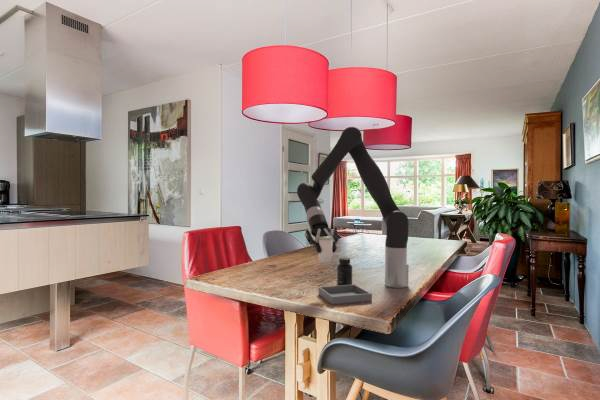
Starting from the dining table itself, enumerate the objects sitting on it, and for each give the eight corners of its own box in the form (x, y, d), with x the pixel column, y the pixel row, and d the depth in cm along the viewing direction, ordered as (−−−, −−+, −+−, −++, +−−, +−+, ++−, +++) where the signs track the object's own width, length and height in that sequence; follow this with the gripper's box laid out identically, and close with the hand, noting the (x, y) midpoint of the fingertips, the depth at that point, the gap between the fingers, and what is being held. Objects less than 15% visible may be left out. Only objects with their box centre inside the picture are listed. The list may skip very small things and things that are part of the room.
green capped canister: (329, 259, 141) (329, 235, 141) (335, 262, 136) (334, 237, 135) (316, 260, 140) (316, 236, 139) (321, 263, 134) (321, 238, 134)
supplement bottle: (342, 282, 157) (342, 256, 157) (355, 285, 152) (355, 258, 152) (333, 285, 152) (334, 258, 151) (347, 288, 147) (347, 260, 147)
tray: (354, 291, 142) (354, 284, 142) (371, 301, 129) (371, 293, 129) (318, 294, 138) (318, 287, 138) (332, 305, 124) (332, 297, 124)
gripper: (302, 213, 142) (312, 246, 131) (334, 213, 147) (346, 244, 135) (298, 225, 148) (308, 258, 136) (330, 224, 152) (341, 256, 141)
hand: (327, 251), depth 136 cm, fingers closed on green capped canister, 5 cm apart
